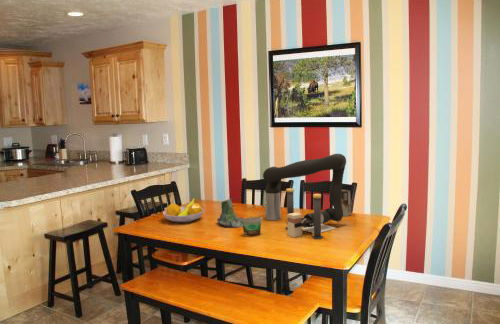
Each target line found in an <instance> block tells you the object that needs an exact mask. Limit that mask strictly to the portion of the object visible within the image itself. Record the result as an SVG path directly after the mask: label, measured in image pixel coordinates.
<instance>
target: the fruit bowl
mask: <svg viewBox="0 0 500 324" xmlns="http://www.w3.org/2000/svg"><path fill="white" fill-rule="evenodd" d="M195 200H196V199H195V197H193V198H192V200H191V201H190V202H189V203H188V204H187V205H186V206H179V205H178V204H176V203H170V204H169V205H168V207H167V208H166V209H165V210H163V211H162V213H163V216H164V218H165V220H168V221H171V222H174V223H190V222H192V221H195V220H197V219H199V218H201V217H202V216H203V213H204V212H205V210H204V209H203V208H202V205H200V204H199V203H198V202H197V203H196V202H195Z"/></svg>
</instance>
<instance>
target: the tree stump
mask: <svg viewBox="0 0 500 324" xmlns="http://www.w3.org/2000/svg"><path fill="white" fill-rule="evenodd" d="M220 208H221V213H220V215H219V217H218V218H217V219H216V221H217V222H218V223H219V224H220V225H221V226H224V227H225V228H230V229H231V228H232V229H233V228H234V229H235V228H236V229H237V228H243V224H242V221H241V218H242V217H239V216H238V215H237V214H236V213H235V211H234V205H233V202H232V198H229V199H228V198H227V199H225V200H223V201H221V206H220Z"/></svg>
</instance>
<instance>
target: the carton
mask: <svg viewBox="0 0 500 324" xmlns="http://www.w3.org/2000/svg"><path fill="white" fill-rule="evenodd" d="M286 215H287V217H286V221H287V222H288V225H287V227H288V230H287V236H288V235H289V237H291V236H292V237H291V238H294V237H295V238H298V237H302V236H303V230H302V228H303V227H297V228H295V227H294V224H296V223H300V222H302V218H303V217H302V216H303V215H302V213H300V212H294V213H290V214H287V213H286ZM287 222H286V223H287Z"/></svg>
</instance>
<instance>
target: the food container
mask: <svg viewBox="0 0 500 324" xmlns="http://www.w3.org/2000/svg"><path fill="white" fill-rule="evenodd" d="M240 218H241V221H242V224H243V227H242V229H243V235H244V236H247V237H257V236H259V235H261V228H262V221H263V217H262V215H260V216H258V217H254V216H252V217H251V216H250V217H247V218H244V217H240Z"/></svg>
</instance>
